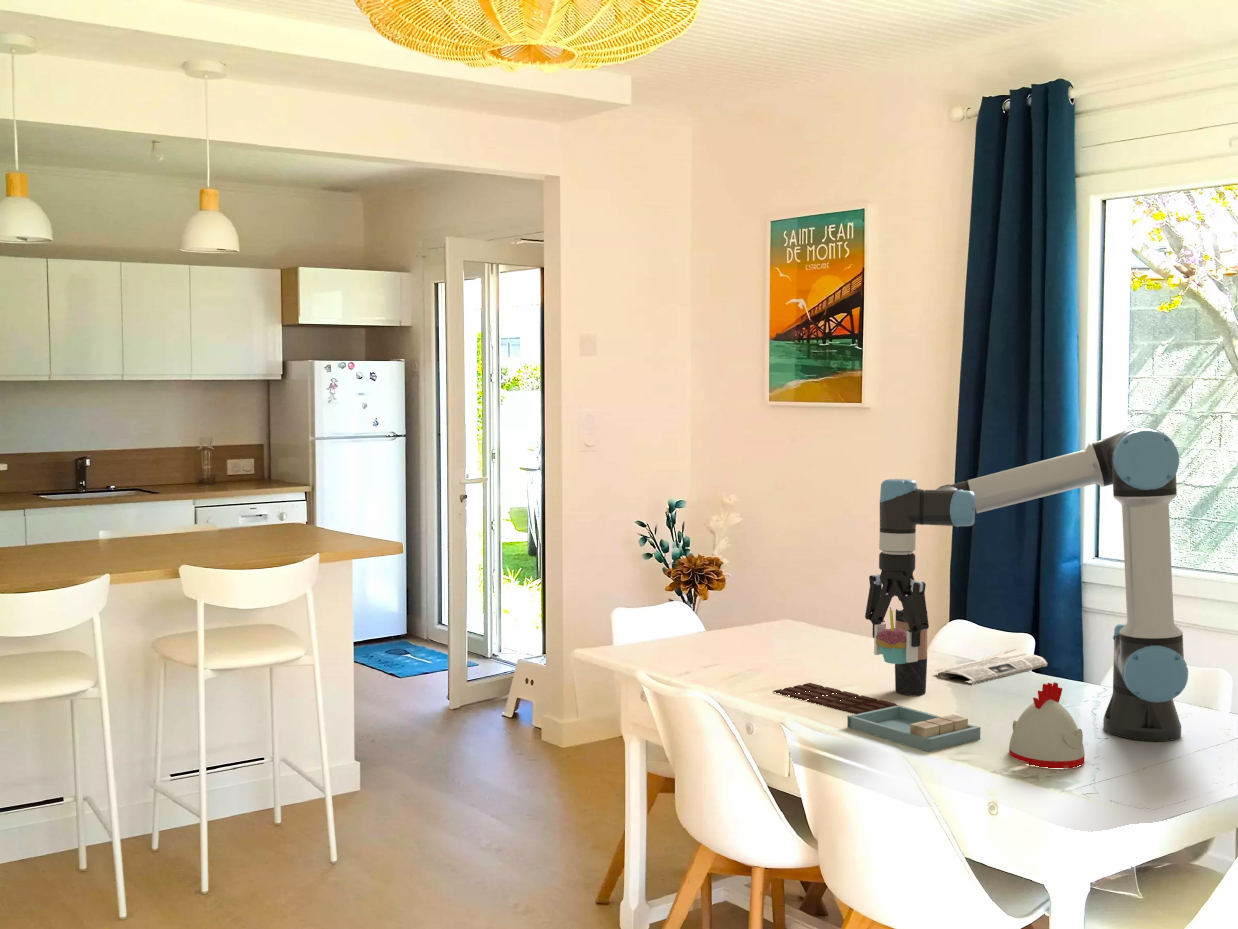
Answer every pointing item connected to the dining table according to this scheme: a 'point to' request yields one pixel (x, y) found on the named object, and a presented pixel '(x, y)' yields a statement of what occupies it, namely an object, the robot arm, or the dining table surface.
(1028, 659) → the newspaper
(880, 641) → the cupcake
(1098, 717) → the dining table surface
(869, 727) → the tray
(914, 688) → the travel mug
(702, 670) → the dining table surface
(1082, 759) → the kitchen timer
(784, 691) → the chocolate bar
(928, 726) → the block
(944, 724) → the block
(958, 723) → the block
